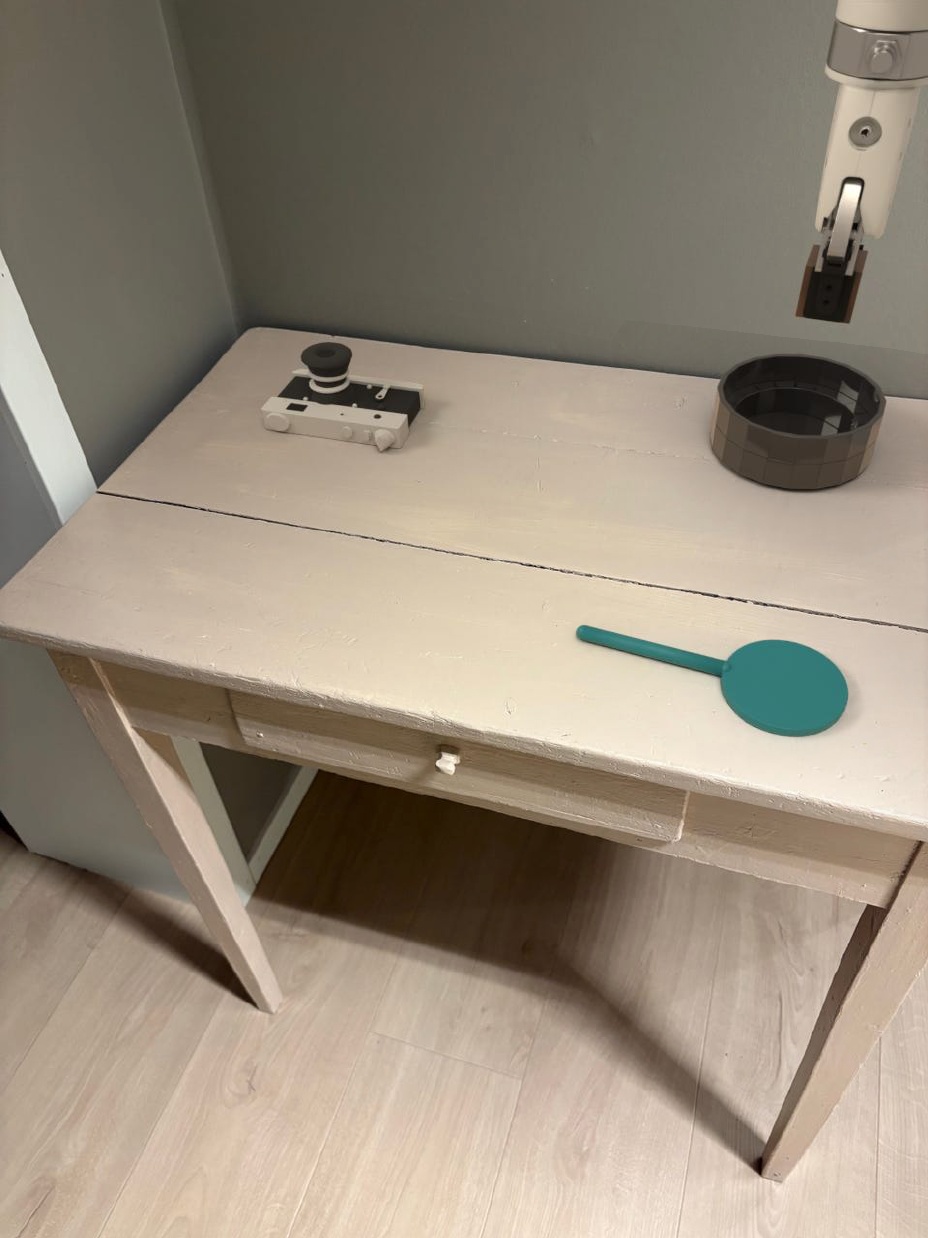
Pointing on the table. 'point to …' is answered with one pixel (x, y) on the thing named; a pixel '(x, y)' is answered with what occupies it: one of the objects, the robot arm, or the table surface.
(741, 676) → the teal lollipop paddle
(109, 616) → the table surface
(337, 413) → the camera
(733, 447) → the shallow round bowl
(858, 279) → the block
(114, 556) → the table surface
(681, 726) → the table surface
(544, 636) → the table surface
